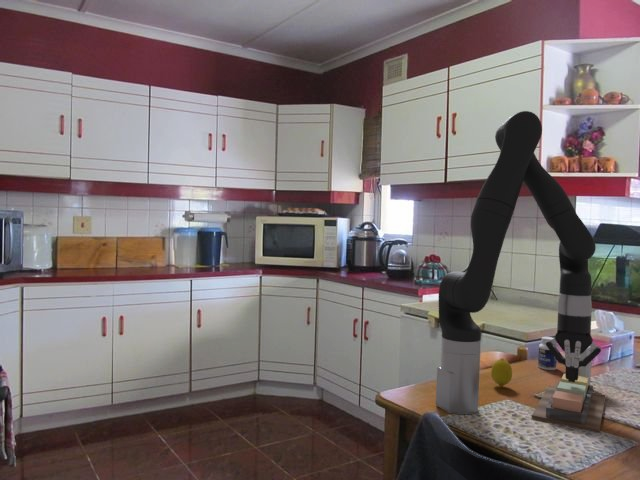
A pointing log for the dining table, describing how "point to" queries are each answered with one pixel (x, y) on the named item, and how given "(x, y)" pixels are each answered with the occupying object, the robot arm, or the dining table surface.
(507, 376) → the lemon
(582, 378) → the pad ochre
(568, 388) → the pad sage
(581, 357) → the skincare box
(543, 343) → the pill bottle
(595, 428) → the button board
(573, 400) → the pad terracotta
